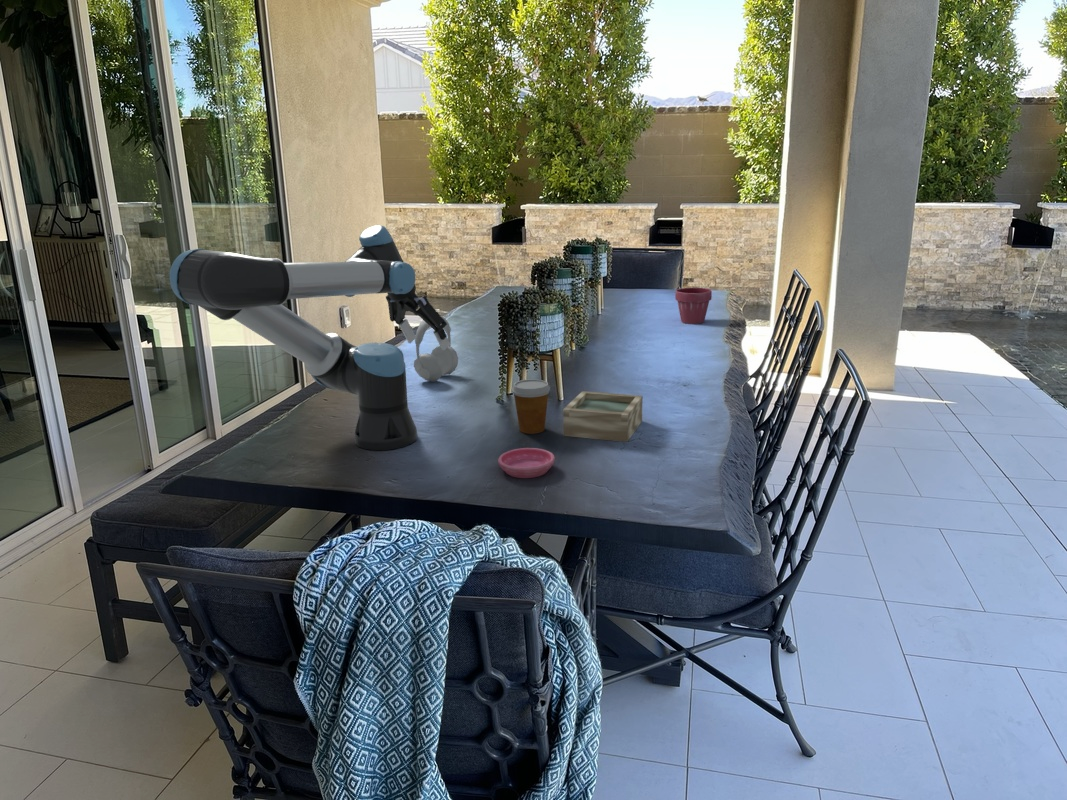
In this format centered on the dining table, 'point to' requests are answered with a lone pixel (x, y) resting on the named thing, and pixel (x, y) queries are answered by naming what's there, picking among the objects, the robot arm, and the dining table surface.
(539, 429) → the disposable coffee cup
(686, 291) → the plant pot
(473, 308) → the dining table surface
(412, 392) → the dining table surface
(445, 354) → the headphones
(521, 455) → the saucer
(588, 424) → the open wooden box
